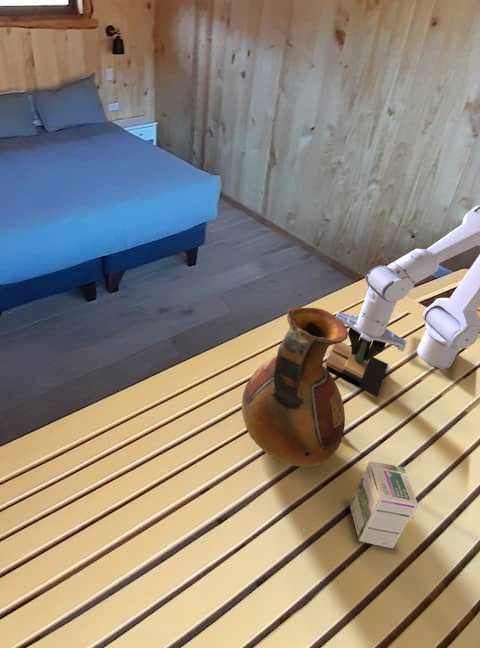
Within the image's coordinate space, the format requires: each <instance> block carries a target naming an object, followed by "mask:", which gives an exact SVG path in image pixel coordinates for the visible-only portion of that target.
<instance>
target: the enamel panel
mask: <svg viewBox="0 0 480 648" xmlns="http://www.w3.org/2000/svg"><path fill="white" fill-rule="evenodd" d="M347 345H348V344H347ZM348 346H350V347H351V345H348ZM388 365H389V363H387V362H385V361H383V360H381V359H379V358H376V357H374V356H372V357H371V358H370V360H369V362H368V365H367V367H366V370H365V372H364V375H363V377H362V380H361V382H358V381H356V380H354V379H353V378H351V377H349V376H347V375H345V374H343V373H340V372H338V371H336V370H335V369H333V368H331V367H329V366H327V365H326V367H325V368H326V369H327V370H328V372H329V373H330V375H333V376H336V377H337V378H339V379H341V380H343V381H345V382H347V383H349V384H351V385H353V386H355V387H357V388H358V389H360V390H363V391H364V392H367V393H368V394H370V395H372V396H374V397H376V398H378V397H379V394H380V391H381V387H382V384H383V381H384V379H385V375H386V371H387V368H388Z"/></svg>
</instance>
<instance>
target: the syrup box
mask: <svg viewBox="0 0 480 648" xmlns="http://www.w3.org/2000/svg"><path fill="white" fill-rule="evenodd" d="M415 495H416V494H415V493H414V490H413V488H412V485H411V483H410V480H409V478H408V475H407V472H406V469H405V467H402V466H397V465H393V464H389V463H382V462H377V461H376V462H374V461H368V463H367V465H366V467H365V470H364V472H363V475H362V476H361V479H360V481H359V483H358V485H357V488H356V489H355V492H354V495H353V497H352V499H351V501H350V504H349V509H350V513H351V516H352V520H353V524H354V528H355V532H356V536H357V540H358V541H359V542H361V543H366V544H371V545H375V546H378V547H379V546H380V547H385V548H389V549H394V547H395V545H396V544H397V542H398V540H399V538H400V537H401V535H402V533H403V531H404V530H405V528H406V527H407V525H408V523H409V521H410V520H411V518H412V516H413V515H414V513H415V511H416V509H417V508H418V507H419V503H418V501H417V498H416V496H415Z"/></svg>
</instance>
